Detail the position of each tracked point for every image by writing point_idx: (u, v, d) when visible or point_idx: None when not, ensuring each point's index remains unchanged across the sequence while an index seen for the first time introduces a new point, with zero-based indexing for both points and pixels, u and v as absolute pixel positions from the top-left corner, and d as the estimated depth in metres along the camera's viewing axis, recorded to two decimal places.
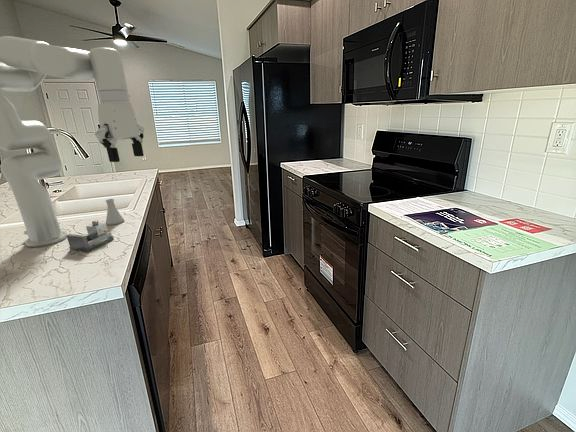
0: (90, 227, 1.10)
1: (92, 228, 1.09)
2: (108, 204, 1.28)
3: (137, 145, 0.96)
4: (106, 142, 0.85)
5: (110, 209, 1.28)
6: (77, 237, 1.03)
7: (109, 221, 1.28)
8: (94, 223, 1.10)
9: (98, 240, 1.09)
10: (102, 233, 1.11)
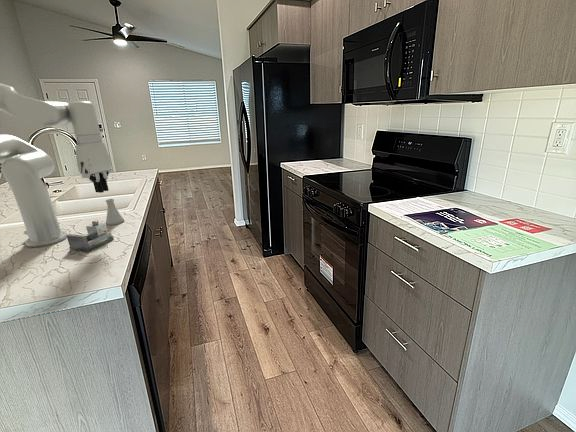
0: (90, 227, 1.10)
1: (92, 228, 1.09)
2: (108, 204, 1.28)
3: (102, 182, 1.12)
4: (92, 178, 1.08)
5: (110, 209, 1.28)
6: (77, 237, 1.03)
7: (109, 221, 1.28)
8: (94, 223, 1.10)
9: (98, 240, 1.09)
10: (102, 233, 1.11)
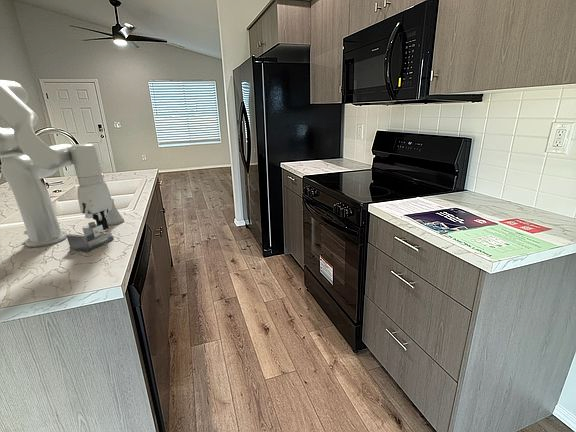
0: (86, 229, 1.08)
1: (88, 230, 1.08)
2: None
3: None
4: (95, 217, 1.10)
5: None
6: (77, 237, 1.03)
7: (109, 221, 1.28)
8: (90, 225, 1.09)
9: (98, 240, 1.09)
10: (99, 235, 1.10)
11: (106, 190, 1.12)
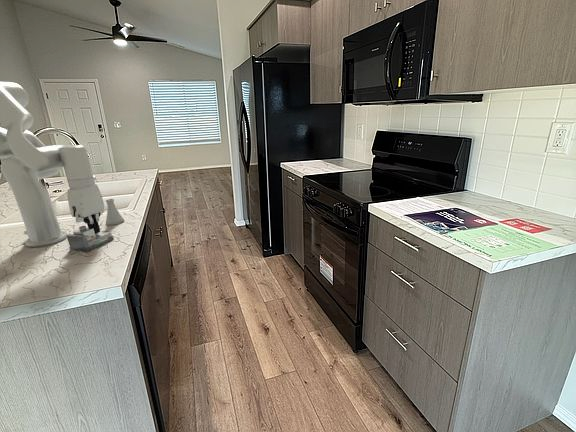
0: (77, 233, 1.05)
1: (79, 234, 1.05)
2: (108, 204, 1.28)
3: None
4: (86, 220, 1.07)
5: (110, 209, 1.28)
6: (77, 237, 1.03)
7: (109, 221, 1.28)
8: (81, 228, 1.05)
9: (98, 240, 1.09)
10: (90, 239, 1.07)
11: (98, 193, 1.09)
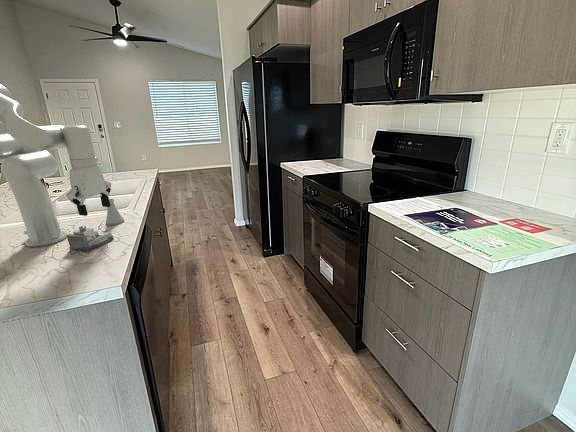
0: (77, 233, 1.05)
1: (79, 234, 1.05)
2: None
3: (104, 198, 1.14)
4: (75, 201, 1.03)
5: (110, 209, 1.28)
6: (77, 237, 1.03)
7: (109, 221, 1.28)
8: (81, 228, 1.05)
9: (98, 240, 1.09)
10: (90, 239, 1.07)
11: (100, 174, 1.09)
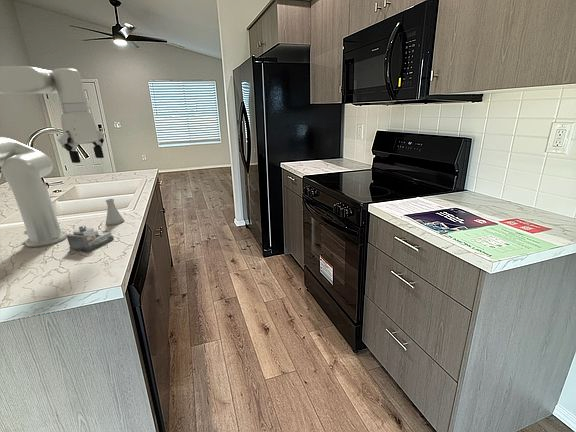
0: (77, 233, 1.05)
1: (79, 234, 1.05)
2: (108, 204, 1.28)
3: (98, 148, 1.13)
4: (67, 146, 1.02)
5: (110, 209, 1.28)
6: (77, 237, 1.03)
7: (109, 221, 1.28)
8: (81, 228, 1.05)
9: (98, 240, 1.09)
10: (90, 239, 1.07)
11: (92, 122, 1.08)
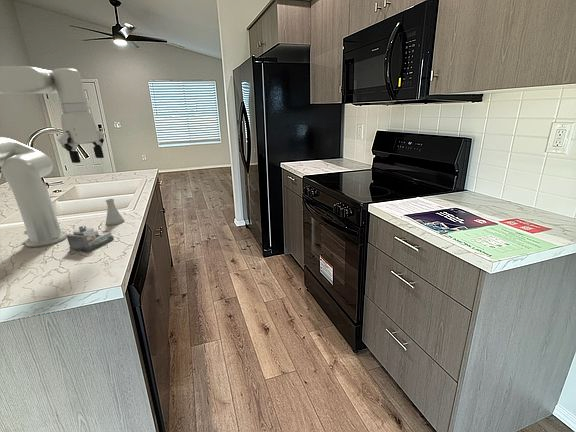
0: (77, 233, 1.05)
1: (79, 234, 1.05)
2: (108, 204, 1.28)
3: (98, 148, 1.13)
4: (67, 146, 1.02)
5: (110, 209, 1.28)
6: (77, 237, 1.03)
7: (109, 221, 1.28)
8: (81, 228, 1.05)
9: (98, 240, 1.09)
10: (90, 239, 1.07)
11: (92, 122, 1.08)
